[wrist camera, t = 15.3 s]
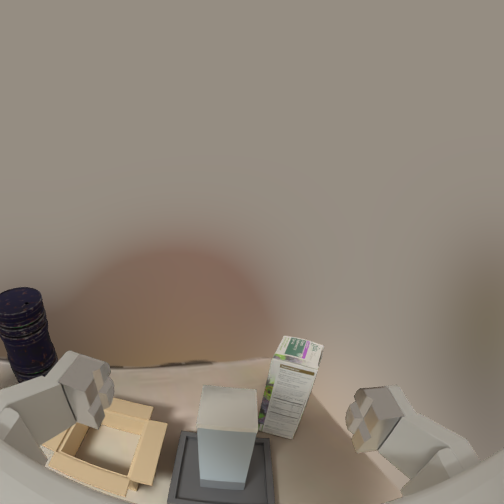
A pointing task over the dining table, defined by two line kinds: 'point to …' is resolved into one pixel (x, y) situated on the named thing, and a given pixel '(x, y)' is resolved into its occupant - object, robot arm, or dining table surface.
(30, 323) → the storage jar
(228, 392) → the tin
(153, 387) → the dining table surface
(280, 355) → the syrup box
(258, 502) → the tray
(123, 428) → the carton
